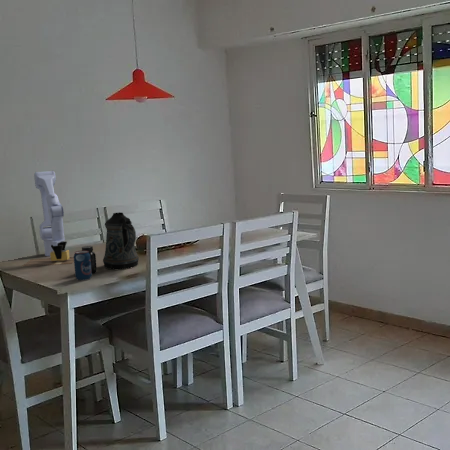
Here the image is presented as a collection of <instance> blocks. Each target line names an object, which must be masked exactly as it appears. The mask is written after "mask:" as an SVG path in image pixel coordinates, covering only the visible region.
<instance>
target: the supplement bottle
mask: <svg viewBox="0 0 450 450" xmlns="http://www.w3.org/2000/svg"><path fill="white" fill-rule="evenodd" d="M82 250H87V251H88V252H89V254H90V260H91V271H92V275H93V274H96V273H97V271H98V268H97V258H96V257H97V256H96V255H97V254H96V253H95V252H94V248H93V246H92V245H85V246H82V247H81V251H82Z"/></svg>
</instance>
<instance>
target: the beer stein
mask: <svg viewBox="0 0 450 450" xmlns="http://www.w3.org/2000/svg"><path fill="white" fill-rule="evenodd" d="M132 223H133V222H132V221H131V219H130V218H129V217H128V216H126V215H125V214H124V213H123V212H114V213H113V214H112V215H111V217H110V218H108V219H107V220H106V221H105V222H104V228H105V229H106V236H105V237H106V238H105V251H104V255H103V259H102V262H103V266H104V268H105V269H106V270H111V271H112V270H115V269H118V270H126V268H127V269H132V268H135V267H137V266H138V265H139V261H140V260H139V257H140V256H139V255H138V253H137V251H136V247H135V242H136V238H137V235H136V234H137V233H136V229H135V227H134V226H133V224H132ZM131 267H132V268H131ZM115 271H116V270H115Z"/></svg>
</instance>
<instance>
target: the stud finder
mask: <svg viewBox="0 0 450 450" xmlns="http://www.w3.org/2000/svg"><path fill="white" fill-rule="evenodd" d="M49 257H50V258H51V261H56V260H68V259H69V258H70V250H69V249H65V250H62V257H61V259H57V258H56V256H55V253H54V251H52V252H50V256H49Z"/></svg>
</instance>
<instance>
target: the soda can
mask: <svg viewBox="0 0 450 450" xmlns="http://www.w3.org/2000/svg"><path fill="white" fill-rule="evenodd" d="M73 257H74V262H73V265H74V275H75V276H74V277H75V278H76V280H77V281H88V280H90V279H91V278H92V275H93V274H92V271H91V260H90V254H89V252H88V251H87V250H82V249H81V250H77V251H75V252H74V255H73Z"/></svg>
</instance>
